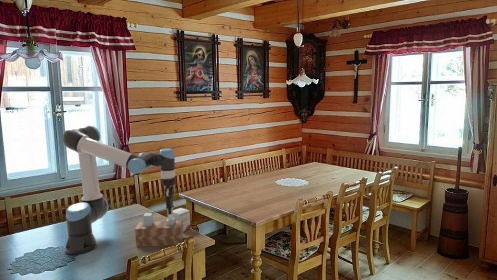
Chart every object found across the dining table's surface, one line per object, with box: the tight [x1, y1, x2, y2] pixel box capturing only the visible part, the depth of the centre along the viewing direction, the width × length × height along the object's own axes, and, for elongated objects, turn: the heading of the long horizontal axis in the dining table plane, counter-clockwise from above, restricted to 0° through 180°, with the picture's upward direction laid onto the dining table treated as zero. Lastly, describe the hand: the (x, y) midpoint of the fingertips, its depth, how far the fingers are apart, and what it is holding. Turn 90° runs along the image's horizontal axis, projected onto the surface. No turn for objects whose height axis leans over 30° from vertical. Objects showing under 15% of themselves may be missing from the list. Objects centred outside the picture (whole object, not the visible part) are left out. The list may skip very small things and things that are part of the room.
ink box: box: [173, 207, 191, 232], centre depth 210 cm, size 9×9×12 cm
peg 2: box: [165, 217, 175, 226], centre depth 193 cm, size 4×4×10 cm
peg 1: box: [143, 212, 154, 227], centre depth 192 cm, size 4×4×10 cm
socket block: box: [134, 220, 184, 248], centre depth 193 cm, size 24×10×10 cm, turn 94°
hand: (170, 219), depth 192 cm, fingers closed
